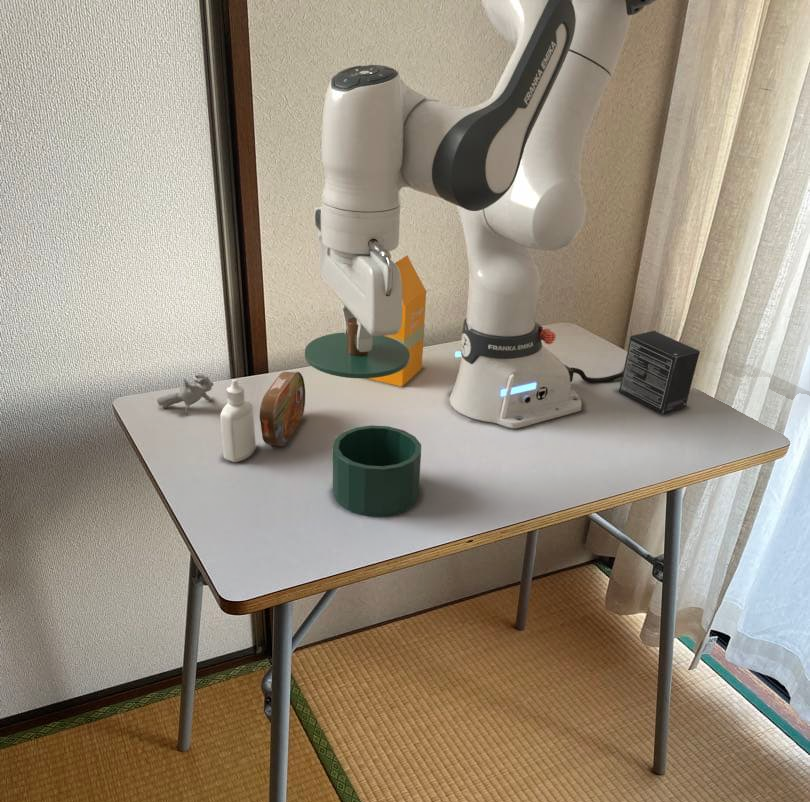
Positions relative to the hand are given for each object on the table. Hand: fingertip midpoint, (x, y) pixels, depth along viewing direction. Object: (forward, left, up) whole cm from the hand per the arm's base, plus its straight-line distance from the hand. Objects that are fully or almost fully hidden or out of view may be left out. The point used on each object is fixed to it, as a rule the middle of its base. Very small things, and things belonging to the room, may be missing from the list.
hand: (357, 343), depth 107 cm
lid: (0, 0, -2) cm, 2 cm away
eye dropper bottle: (+12, -18, -24) cm, 32 cm away
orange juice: (-20, -39, -24) cm, 49 cm away
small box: (-60, -17, -24) cm, 66 cm away
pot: (-4, -2, -23) cm, 24 cm away
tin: (+4, -23, -24) cm, 33 cm away
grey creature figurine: (+17, -34, -24) cm, 45 cm away
